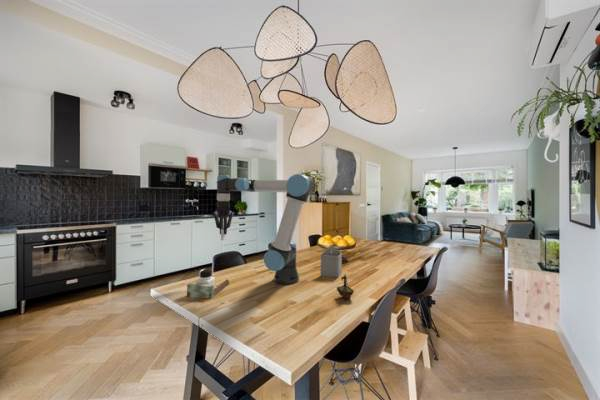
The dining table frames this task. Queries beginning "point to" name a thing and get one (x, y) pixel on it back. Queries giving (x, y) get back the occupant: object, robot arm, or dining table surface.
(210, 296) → the guide channel
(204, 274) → the medicine bottle
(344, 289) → the figurine
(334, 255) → the grey box
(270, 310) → the dining table surface
